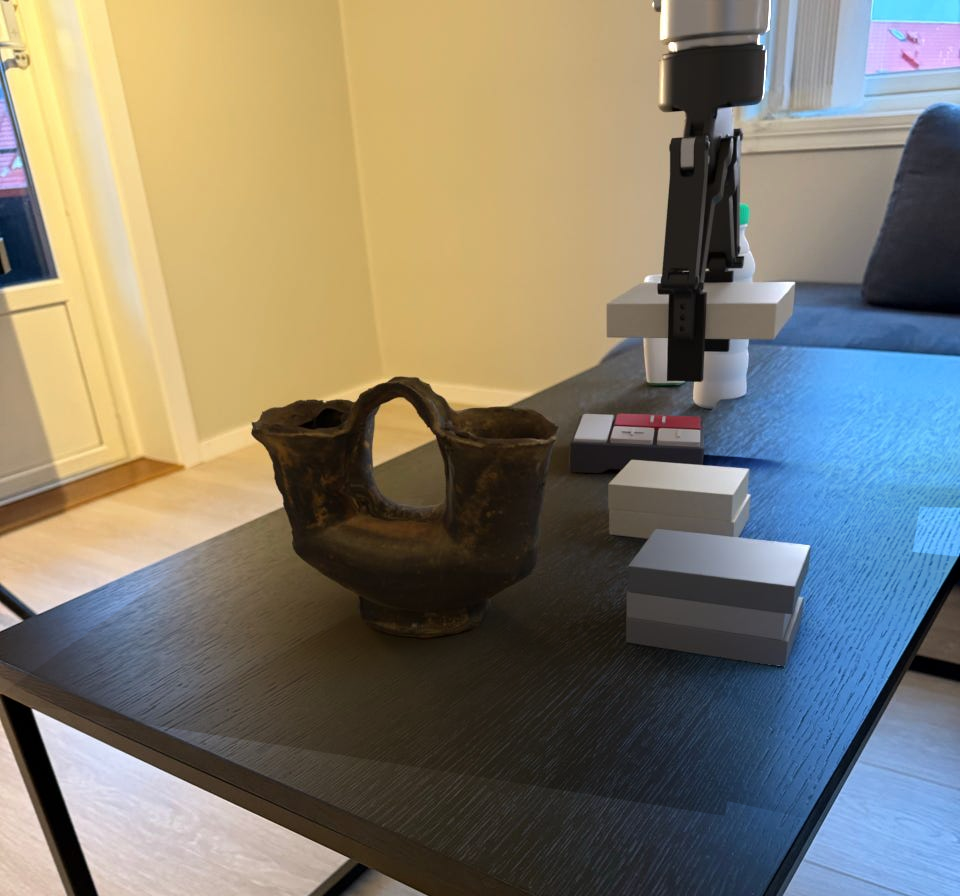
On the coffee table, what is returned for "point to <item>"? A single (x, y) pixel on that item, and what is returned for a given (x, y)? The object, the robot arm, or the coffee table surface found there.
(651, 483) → the white books
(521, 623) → the coffee table surface
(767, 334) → the flat white block
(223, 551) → the coffee table surface
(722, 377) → the water bottle
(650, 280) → the cup
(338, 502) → the pottery vessel
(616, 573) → the coffee table surface
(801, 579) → the grey books
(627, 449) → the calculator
